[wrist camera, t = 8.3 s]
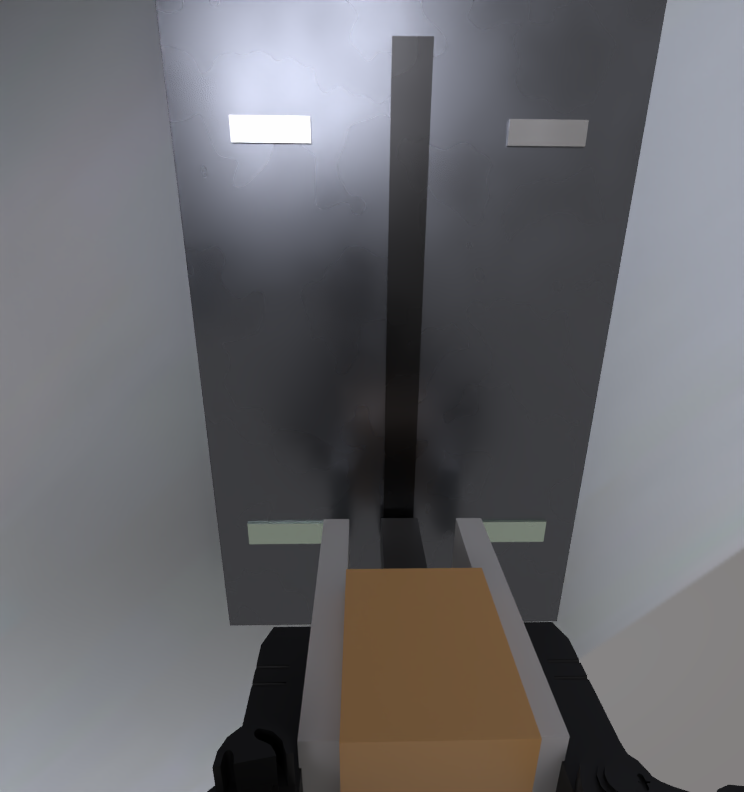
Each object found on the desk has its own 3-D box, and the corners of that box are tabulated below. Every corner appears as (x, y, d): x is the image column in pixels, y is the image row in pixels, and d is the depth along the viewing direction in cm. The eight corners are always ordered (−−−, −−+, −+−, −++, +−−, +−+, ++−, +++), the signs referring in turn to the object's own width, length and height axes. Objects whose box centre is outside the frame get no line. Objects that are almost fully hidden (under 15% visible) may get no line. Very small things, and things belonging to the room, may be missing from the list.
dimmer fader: (349, 480, 15) (339, 742, 8) (451, 479, 15) (541, 739, 8) (350, 583, 17) (342, 892, 9) (443, 582, 17) (514, 887, 9)
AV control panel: (184, -22, 13) (144, -78, 11) (621, -13, 13) (680, -65, 11) (245, 577, 20) (229, 627, 17) (533, 574, 20) (557, 623, 18)
